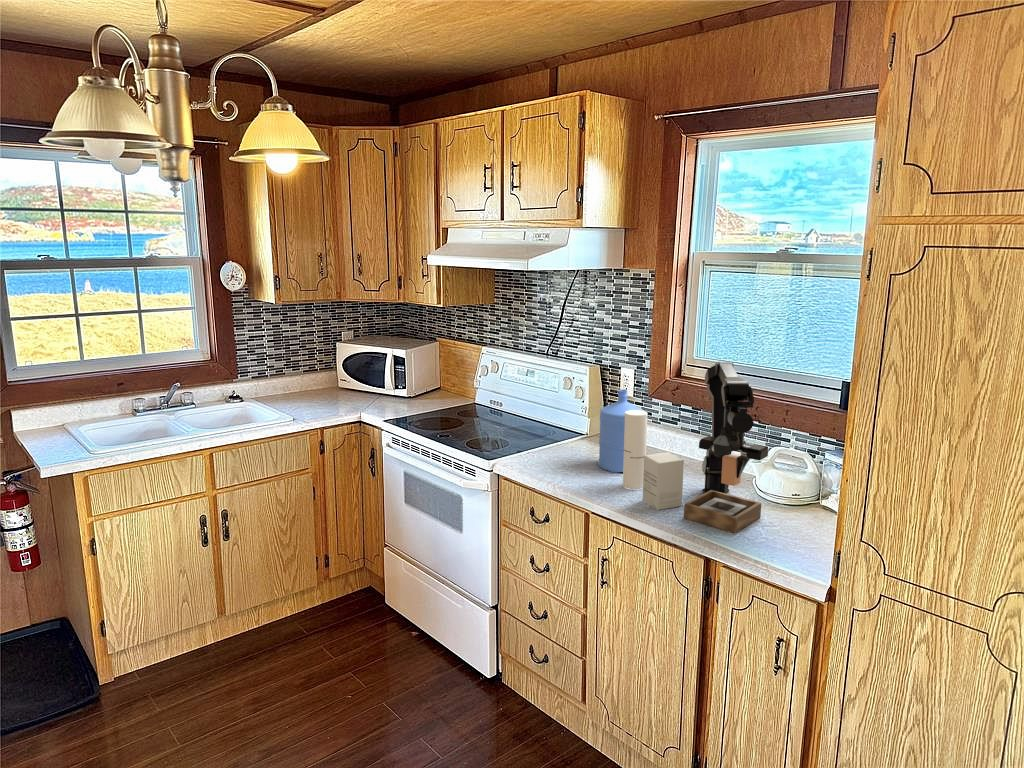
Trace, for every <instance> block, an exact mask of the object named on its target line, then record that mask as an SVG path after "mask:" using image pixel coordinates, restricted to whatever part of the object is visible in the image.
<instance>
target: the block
mask: <svg viewBox="0 0 1024 768" xmlns="http://www.w3.org/2000/svg"><path fill="white" fill-rule="evenodd" d="M738 456H739V455H737V454H733V453H731V454H730V455H725V456H723V459H722V477H721V483H723V484H727V485H729V486H733V487H736V486H738V485H739V484H740V483H741V476H742V475H741V476H740V477H739V478H737V467H738V460H737V457H738Z"/></svg>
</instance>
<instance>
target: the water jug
mask: <svg viewBox="0 0 1024 768" xmlns="http://www.w3.org/2000/svg"><path fill="white" fill-rule="evenodd" d="M617 396H618V397H617V399H618V400H617V401H616V402H613V403H611V404H608V405H606V406H603V407H602V408H601V409H600V414H599V439H598V441H599V443H598V444H599V453H598V454H599V456H598V466H599V467H600V468H601V469H602V468H603V469H602V470H604V469H605V470H604V471H607V470H608V471H607V472H610V471H613V472H612V473H616V472H623V462H624V430H625V412H626V411H629V410H641V411H644V409H643V408H641V407H639V406H637V405H635V404H633V403H631V402H629V401H628V390H627V389H618V394H617Z"/></svg>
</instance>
